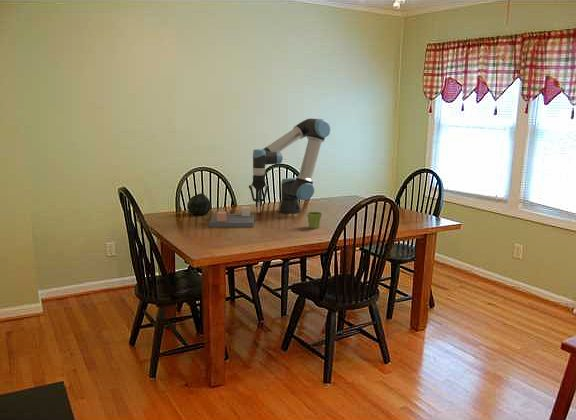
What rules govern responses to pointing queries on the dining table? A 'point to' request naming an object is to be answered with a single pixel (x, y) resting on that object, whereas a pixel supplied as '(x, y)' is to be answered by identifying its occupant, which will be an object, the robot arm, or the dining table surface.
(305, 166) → the robot arm
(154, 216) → the dining table surface
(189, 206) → the squash
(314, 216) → the plant pot
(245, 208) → the block
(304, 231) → the dining table surface
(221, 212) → the salmon orange block
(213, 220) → the console
